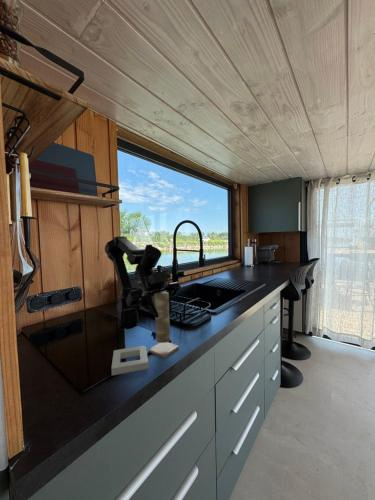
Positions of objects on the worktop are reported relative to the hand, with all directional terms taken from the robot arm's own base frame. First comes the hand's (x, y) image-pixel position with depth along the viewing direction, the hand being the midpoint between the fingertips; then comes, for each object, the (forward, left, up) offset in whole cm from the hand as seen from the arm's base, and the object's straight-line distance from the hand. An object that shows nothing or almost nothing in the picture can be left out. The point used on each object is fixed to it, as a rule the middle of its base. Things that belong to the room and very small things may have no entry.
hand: (164, 315), depth 72 cm
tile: (-1, +1, -12) cm, 12 cm away
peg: (-1, +1, -9) cm, 9 cm away
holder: (-10, -5, -12) cm, 17 cm away
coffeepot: (-11, +41, -12) cm, 44 cm away
